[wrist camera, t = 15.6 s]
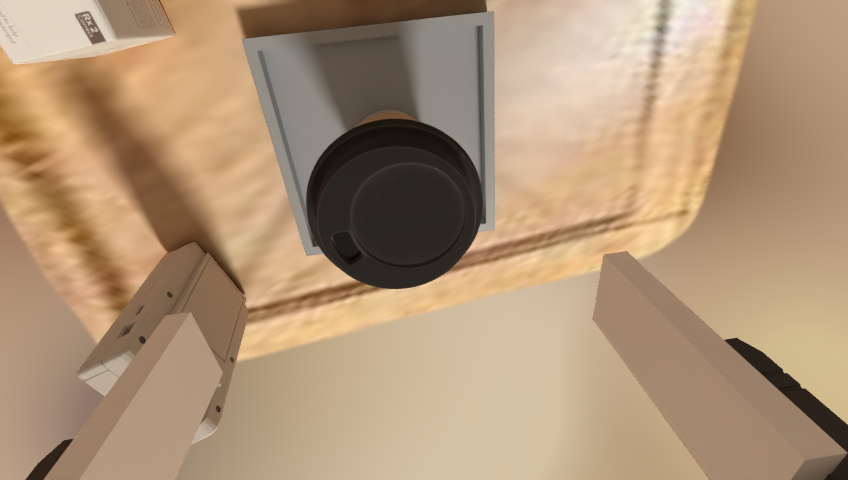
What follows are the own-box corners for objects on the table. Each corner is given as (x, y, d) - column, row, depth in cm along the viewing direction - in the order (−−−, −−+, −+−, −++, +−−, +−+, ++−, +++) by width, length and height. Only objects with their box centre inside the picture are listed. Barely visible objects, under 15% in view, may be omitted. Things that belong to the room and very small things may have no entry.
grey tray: (249, 38, 27) (241, 38, 26) (487, 12, 28) (493, 11, 26) (309, 246, 36) (306, 255, 34) (489, 221, 37) (494, 229, 35)
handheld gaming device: (199, 237, 34) (161, 255, 34) (129, 347, 22) (67, 377, 22) (256, 304, 39) (222, 321, 39) (226, 429, 26) (175, 454, 26)
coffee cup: (310, 155, 31) (262, 245, 18) (375, 57, 28) (374, 80, 15) (401, 215, 35) (415, 326, 22) (468, 133, 32) (530, 205, 19)
